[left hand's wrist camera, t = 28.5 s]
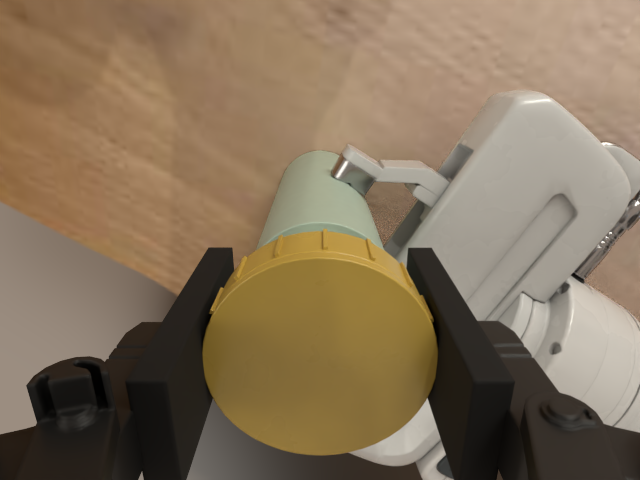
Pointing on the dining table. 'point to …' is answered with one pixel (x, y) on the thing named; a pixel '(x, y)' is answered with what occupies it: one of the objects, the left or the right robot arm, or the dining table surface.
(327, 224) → the jar
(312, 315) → the lid
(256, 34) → the dining table surface
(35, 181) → the dining table surface
